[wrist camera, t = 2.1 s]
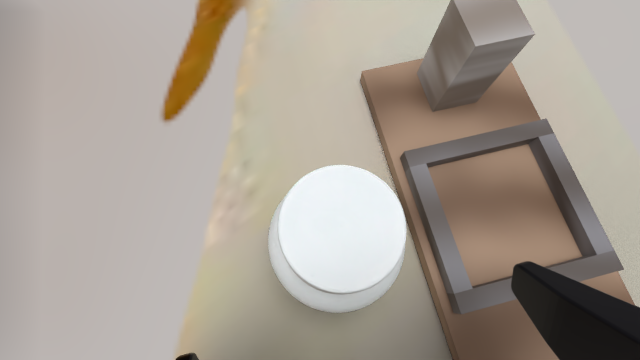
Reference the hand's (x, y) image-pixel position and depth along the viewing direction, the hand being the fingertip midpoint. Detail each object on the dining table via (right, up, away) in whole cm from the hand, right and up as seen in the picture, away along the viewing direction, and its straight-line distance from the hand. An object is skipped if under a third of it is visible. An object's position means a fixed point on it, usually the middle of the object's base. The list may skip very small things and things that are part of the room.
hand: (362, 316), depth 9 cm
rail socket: (+9, +2, +11) cm, 14 cm away
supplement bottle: (-1, -1, +10) cm, 10 cm away
